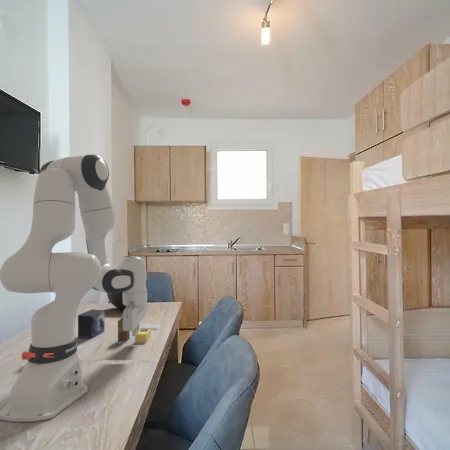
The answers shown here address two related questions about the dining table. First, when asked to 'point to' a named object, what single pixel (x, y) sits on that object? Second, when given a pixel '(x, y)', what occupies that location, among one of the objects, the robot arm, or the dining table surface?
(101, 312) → the small box
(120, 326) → the wooden block with knob
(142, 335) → the block
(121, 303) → the coal bowl
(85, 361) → the dining table surface
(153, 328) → the board
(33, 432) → the dining table surface
